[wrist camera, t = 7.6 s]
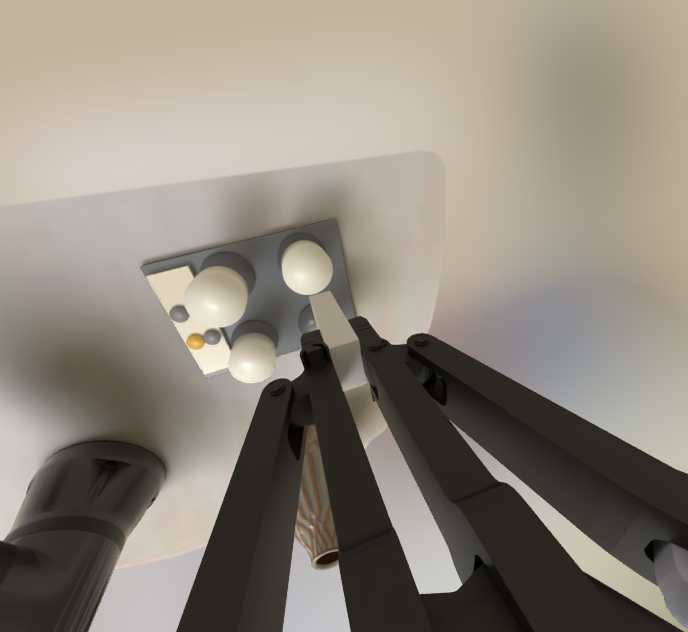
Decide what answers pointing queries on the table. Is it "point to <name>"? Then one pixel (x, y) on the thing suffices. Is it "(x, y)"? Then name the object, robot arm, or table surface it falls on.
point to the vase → (315, 509)
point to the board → (250, 293)
